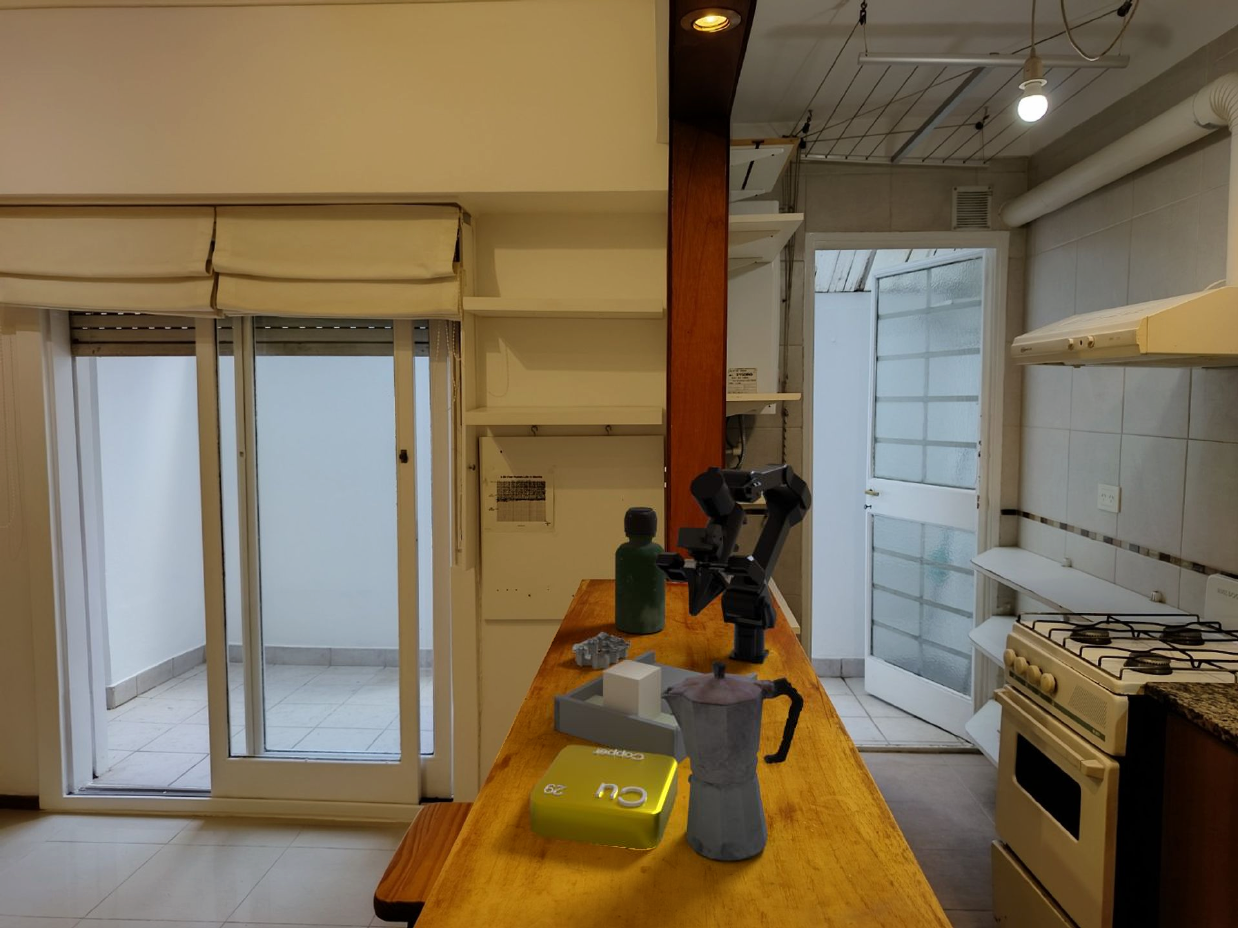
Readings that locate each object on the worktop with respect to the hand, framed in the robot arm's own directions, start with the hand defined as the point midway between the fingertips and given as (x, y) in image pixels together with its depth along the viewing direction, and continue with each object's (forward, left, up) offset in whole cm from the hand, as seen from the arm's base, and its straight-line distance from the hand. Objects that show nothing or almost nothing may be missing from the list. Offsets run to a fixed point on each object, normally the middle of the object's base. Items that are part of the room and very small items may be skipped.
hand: (692, 614), depth 125 cm
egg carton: (-10, -20, -14) cm, 27 cm away
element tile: (+37, +1, -14) cm, 39 cm away
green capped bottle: (-31, -20, -14) cm, 40 cm away
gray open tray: (+9, -2, -13) cm, 16 cm away
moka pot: (+38, +16, -14) cm, 43 cm away
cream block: (+17, -4, -11) cm, 20 cm away
